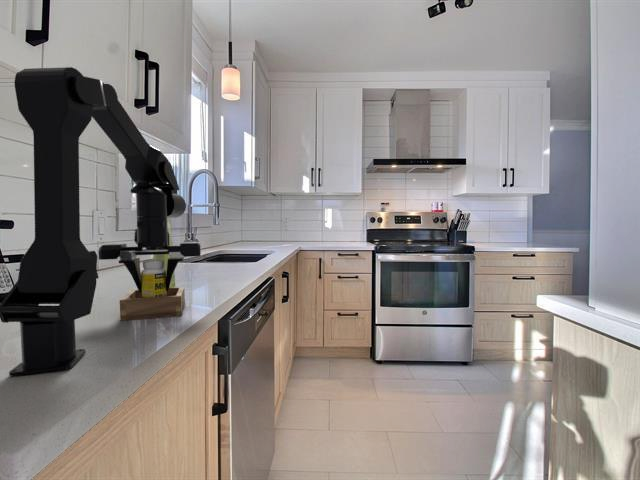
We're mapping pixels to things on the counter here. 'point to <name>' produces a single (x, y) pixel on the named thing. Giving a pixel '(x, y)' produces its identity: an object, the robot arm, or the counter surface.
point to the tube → (166, 257)
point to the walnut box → (152, 305)
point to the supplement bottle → (153, 279)
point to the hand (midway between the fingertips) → (154, 291)
